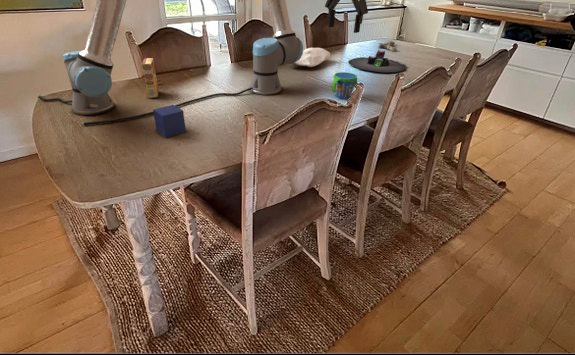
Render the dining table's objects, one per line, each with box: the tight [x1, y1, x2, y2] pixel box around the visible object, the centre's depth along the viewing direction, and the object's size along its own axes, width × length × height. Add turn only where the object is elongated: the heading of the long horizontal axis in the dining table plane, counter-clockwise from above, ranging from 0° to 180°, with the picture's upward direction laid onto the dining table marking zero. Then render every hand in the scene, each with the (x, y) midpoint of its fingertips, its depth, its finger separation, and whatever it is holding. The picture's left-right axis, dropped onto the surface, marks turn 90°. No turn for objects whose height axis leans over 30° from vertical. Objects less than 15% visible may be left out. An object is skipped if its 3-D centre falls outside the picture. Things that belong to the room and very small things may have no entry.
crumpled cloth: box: [290, 47, 331, 68], centre depth 217 cm, size 24×35×9 cm
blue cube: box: [152, 104, 187, 139], centre depth 134 cm, size 8×7×8 cm
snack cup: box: [330, 71, 358, 100], centre depth 171 cm, size 16×10×10 cm
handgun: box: [378, 40, 398, 52], centre depth 263 cm, size 3×18×15 cm
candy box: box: [141, 57, 160, 99], centre depth 163 cm, size 9×4×15 cm, turn 13°
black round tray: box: [347, 49, 407, 74], centre depth 221 cm, size 35×35×9 cm
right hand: (343, 29), depth 149 cm, fingers open, 13 cm apart
